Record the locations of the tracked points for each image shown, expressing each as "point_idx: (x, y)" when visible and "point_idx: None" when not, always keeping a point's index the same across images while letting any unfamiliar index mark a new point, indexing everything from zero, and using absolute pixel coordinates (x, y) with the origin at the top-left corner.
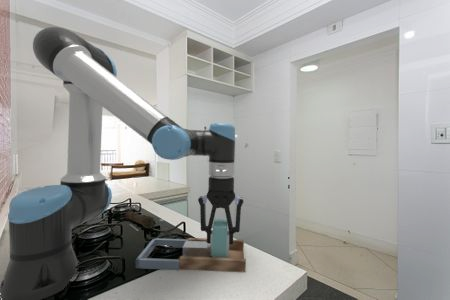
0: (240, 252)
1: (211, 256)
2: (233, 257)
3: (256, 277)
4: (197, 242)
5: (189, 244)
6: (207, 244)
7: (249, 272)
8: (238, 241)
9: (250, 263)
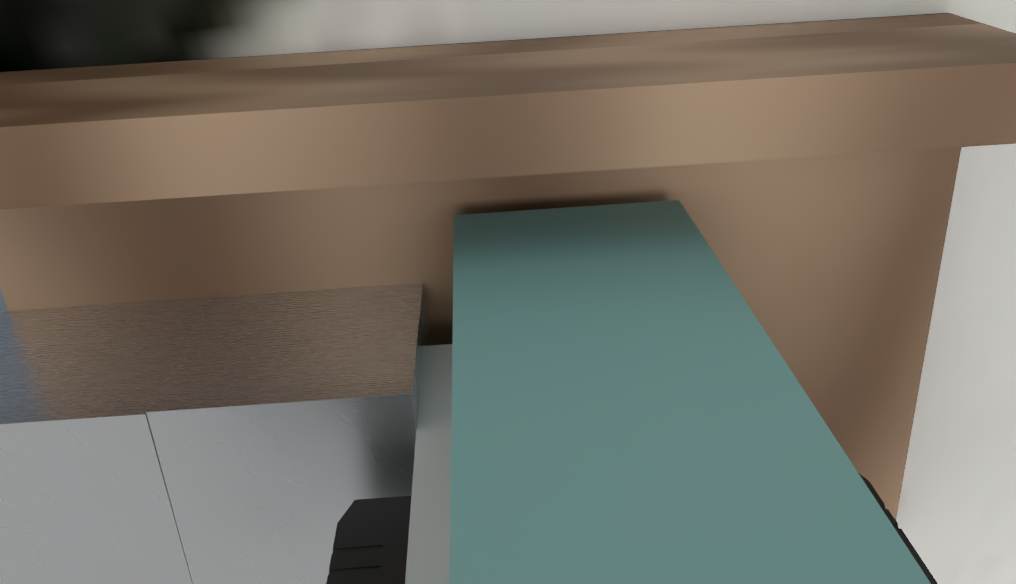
0: (905, 160)
1: (437, 333)
2: (773, 312)
3: (981, 530)
4: (145, 461)
5: (29, 540)
6: (360, 496)
7: (926, 467)
8: (961, 146)
9: (986, 300)
